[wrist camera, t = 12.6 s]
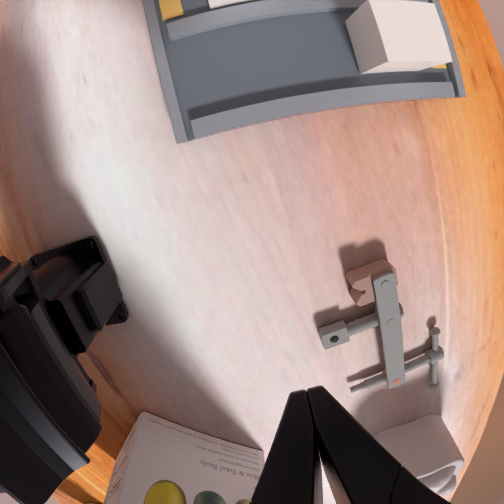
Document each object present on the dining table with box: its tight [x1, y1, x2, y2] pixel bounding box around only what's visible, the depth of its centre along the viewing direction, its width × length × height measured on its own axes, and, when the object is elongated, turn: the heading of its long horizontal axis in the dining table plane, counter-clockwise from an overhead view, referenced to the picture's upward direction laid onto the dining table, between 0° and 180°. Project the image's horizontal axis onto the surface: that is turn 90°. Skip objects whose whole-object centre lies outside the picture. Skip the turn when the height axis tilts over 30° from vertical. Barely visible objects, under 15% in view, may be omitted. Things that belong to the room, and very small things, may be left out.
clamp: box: [319, 259, 444, 393], centre depth 22 cm, size 15×2×10 cm
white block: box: [345, 0, 453, 74], centre depth 12 cm, size 4×3×4 cm
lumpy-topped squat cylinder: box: [373, 414, 464, 495], centre depth 26 cm, size 10×13×9 cm
